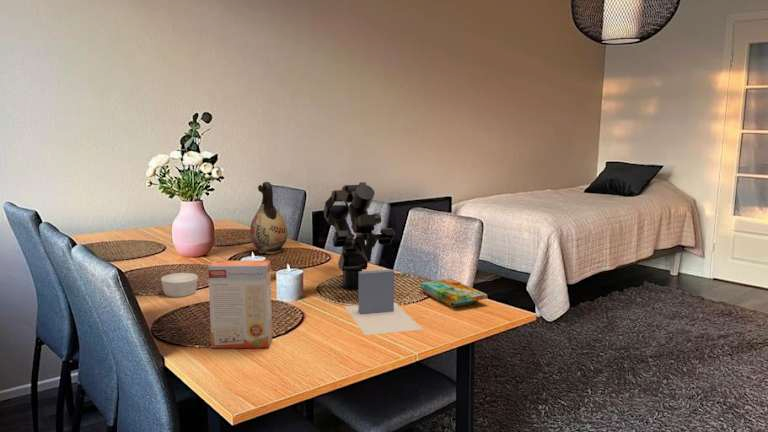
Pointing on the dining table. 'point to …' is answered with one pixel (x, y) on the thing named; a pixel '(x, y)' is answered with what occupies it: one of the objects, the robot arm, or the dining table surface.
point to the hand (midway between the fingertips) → (369, 261)
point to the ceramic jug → (268, 224)
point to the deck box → (376, 291)
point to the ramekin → (179, 284)
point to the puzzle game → (452, 292)
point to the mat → (383, 321)
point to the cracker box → (240, 304)
